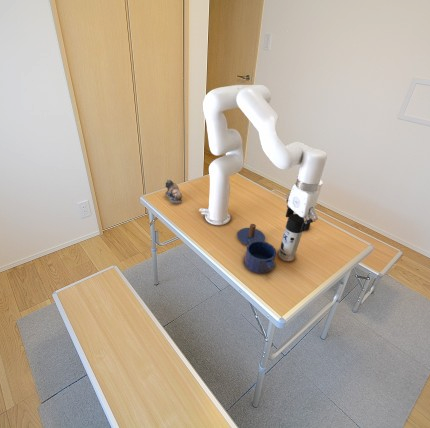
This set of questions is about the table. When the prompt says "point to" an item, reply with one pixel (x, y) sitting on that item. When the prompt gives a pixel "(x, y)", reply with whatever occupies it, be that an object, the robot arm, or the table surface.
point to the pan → (260, 256)
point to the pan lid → (250, 234)
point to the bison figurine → (173, 192)
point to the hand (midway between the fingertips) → (296, 223)
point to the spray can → (291, 237)
